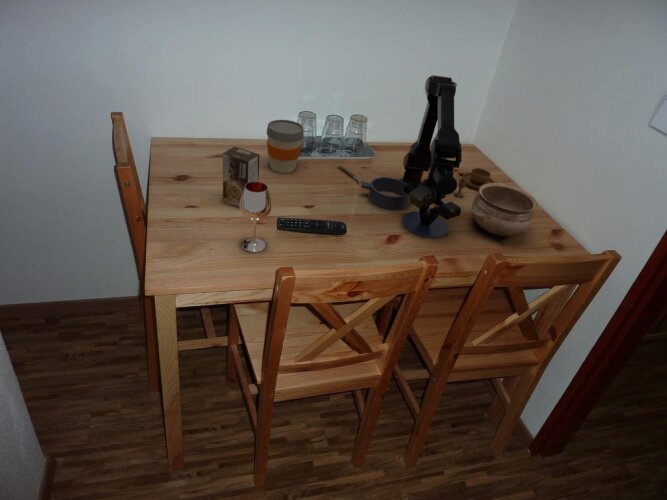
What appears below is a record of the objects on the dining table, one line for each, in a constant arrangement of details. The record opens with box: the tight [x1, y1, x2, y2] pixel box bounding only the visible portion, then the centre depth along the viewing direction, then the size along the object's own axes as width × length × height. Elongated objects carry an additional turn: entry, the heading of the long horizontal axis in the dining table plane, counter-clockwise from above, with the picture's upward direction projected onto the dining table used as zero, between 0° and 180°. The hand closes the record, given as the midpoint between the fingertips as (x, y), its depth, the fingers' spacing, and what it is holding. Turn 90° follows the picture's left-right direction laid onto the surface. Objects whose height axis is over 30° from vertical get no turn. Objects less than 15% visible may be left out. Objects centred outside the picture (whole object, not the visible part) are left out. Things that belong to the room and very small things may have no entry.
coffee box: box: [222, 146, 261, 208], centre depth 152 cm, size 9×6×16 cm
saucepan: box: [361, 176, 410, 212], centre depth 167 cm, size 14×19×6 cm
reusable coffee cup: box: [266, 119, 305, 174], centre depth 175 cm, size 13×13×15 cm
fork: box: [337, 165, 362, 185], centre depth 179 cm, size 15×2×8 cm, turn 37°
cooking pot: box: [470, 182, 538, 237], centre depth 159 cm, size 25×19×12 cm
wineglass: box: [238, 181, 272, 253], centre depth 133 cm, size 8×8×18 cm
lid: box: [401, 210, 449, 239], centre depth 157 cm, size 15×15×5 cm
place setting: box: [454, 167, 496, 198], centre depth 185 cm, size 18×20×6 cm
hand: (425, 223), depth 157 cm, fingers closed on lid, 3 cm apart
